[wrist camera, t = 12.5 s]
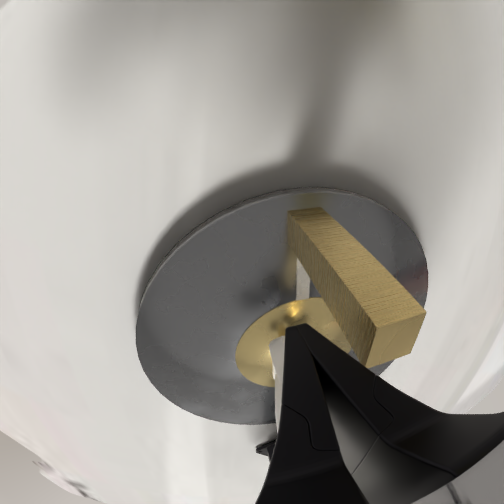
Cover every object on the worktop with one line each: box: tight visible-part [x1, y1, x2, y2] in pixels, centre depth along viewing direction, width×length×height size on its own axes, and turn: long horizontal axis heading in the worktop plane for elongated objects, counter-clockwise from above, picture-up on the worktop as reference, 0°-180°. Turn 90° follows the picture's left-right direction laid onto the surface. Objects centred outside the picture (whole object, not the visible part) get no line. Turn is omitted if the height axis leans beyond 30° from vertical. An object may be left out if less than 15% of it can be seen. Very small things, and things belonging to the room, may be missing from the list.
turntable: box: [136, 187, 428, 425], centre depth 16 cm, size 22×22×10 cm
